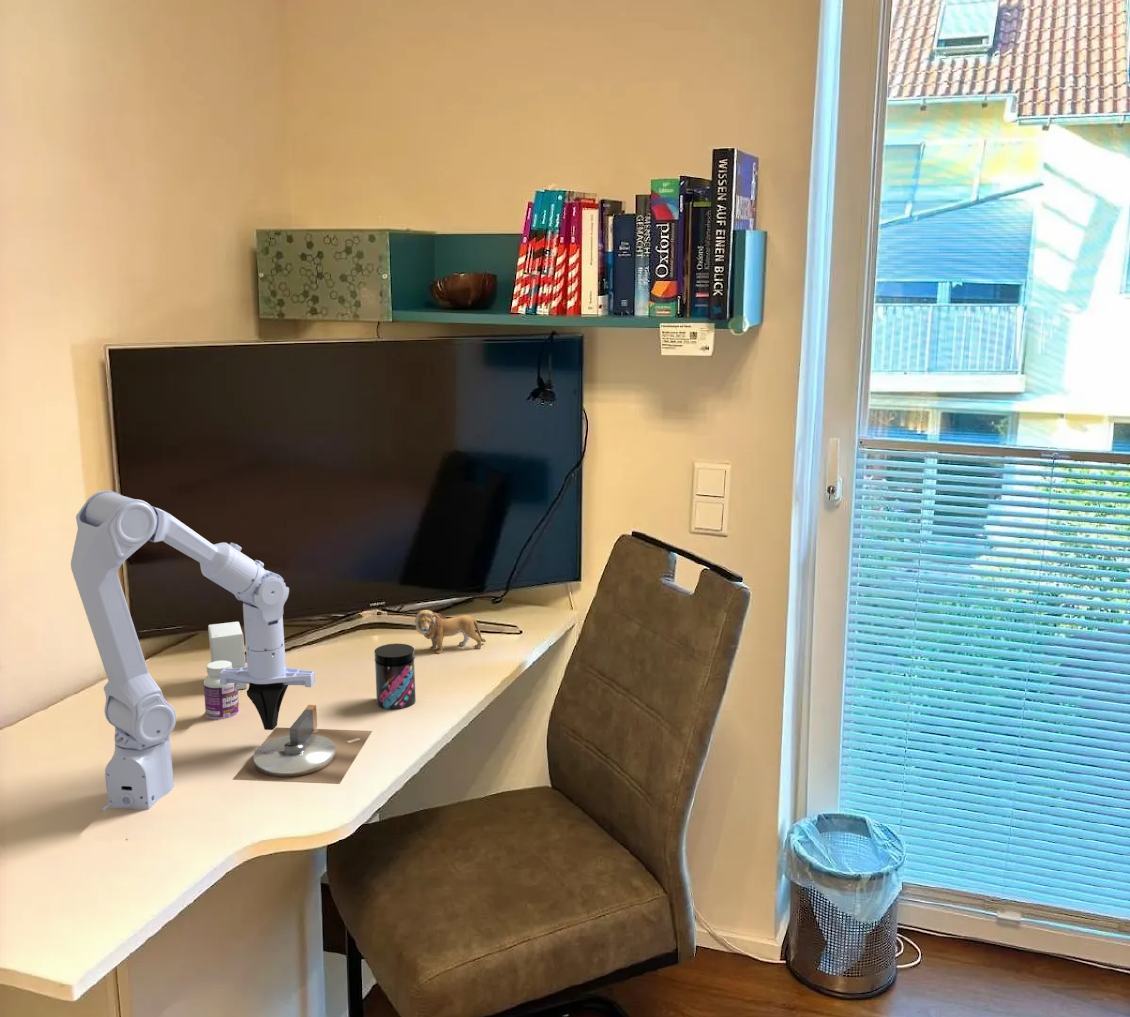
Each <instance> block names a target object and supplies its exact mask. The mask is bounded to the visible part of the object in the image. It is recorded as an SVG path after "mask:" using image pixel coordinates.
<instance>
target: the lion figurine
mask: <svg viewBox="0 0 1130 1017" xmlns="http://www.w3.org/2000/svg"><path fill="white" fill-rule="evenodd" d="M414 621H415V629H416V631H417V632H418V633H419V634H420V635H422V636H424V637H425V639H427V640H431V644H432V645H431V646H430V647H429V650H430V651H434V650H435V654H437V655H440V654H442V653H443V641H444V638H445V637H453V636H456V635H458V634H459V633H462V636H463V639H462V641H460V642H459V643H458V645H459V646H465V645H466V644H467V643H468V641H469V640H470V639H472V640H474V641H475V642H476V643H477V644H475V645H474V649H476V650H480V649H482V643H486V642H487V640H486V639H485V638H483V637H482V633H481V631H480V626H479V624H478V622H477V620H476V619H475V618H474V617H473V616H470V615H466V614H464V615H463V614H462V615H459V616H456V617H451V618H447V617H445V616H444V615H442V614H441V613H437V612H433V610H430V609H425V610H424V609H423V610H419V611H418V612H417V614H416V615H415V619H414ZM436 649H437V650H436Z"/></svg>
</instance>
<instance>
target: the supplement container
mask: <svg viewBox="0 0 1130 1017" xmlns="http://www.w3.org/2000/svg"><path fill="white" fill-rule="evenodd" d="M373 654H374V669H375V687H376V688H375V691H376V692H375V693H376V705H377V707H379V708H381V709H385V710H393V711H395V710H403V709H407V708H410V707H412V706H413V705H415V704H416V700H417V697H416V672H415V647H413V646H412V645H410V644H406V643H388V644H387V643H386V644H383V645H380V646H378V647H376V648H375V649H374V653H373Z"/></svg>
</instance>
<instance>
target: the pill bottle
mask: <svg viewBox="0 0 1130 1017" xmlns="http://www.w3.org/2000/svg"><path fill="white" fill-rule="evenodd" d="M224 668H227V669H230V668H232V663H231V662H229V661H215V662H211V661H210V662H208V663H207V665H206V673H207V676H206V677H204V680H203V693H204V708H205V716H206V717H207V718H208V719H210V720H226V719H230V718H233V717H235V716H237V715H239V713H240V705H239V704H240V703H239V690H238V686H237V683H228V684H226V685H221V684H220V676H219V673H220V672H221V671H222V670H223V669H224Z"/></svg>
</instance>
